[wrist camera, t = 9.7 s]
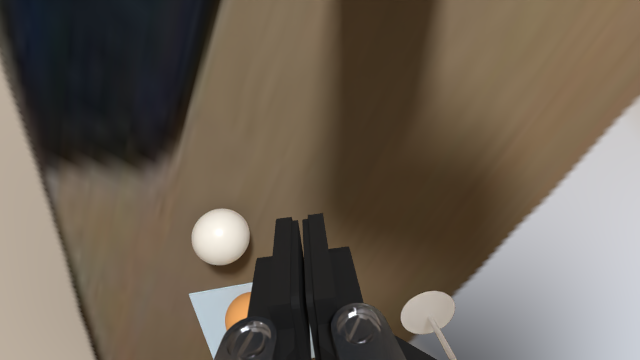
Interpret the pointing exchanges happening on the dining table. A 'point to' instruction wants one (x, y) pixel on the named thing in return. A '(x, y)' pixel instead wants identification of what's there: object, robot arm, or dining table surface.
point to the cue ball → (220, 236)
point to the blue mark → (218, 312)
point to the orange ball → (237, 310)
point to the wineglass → (429, 316)
